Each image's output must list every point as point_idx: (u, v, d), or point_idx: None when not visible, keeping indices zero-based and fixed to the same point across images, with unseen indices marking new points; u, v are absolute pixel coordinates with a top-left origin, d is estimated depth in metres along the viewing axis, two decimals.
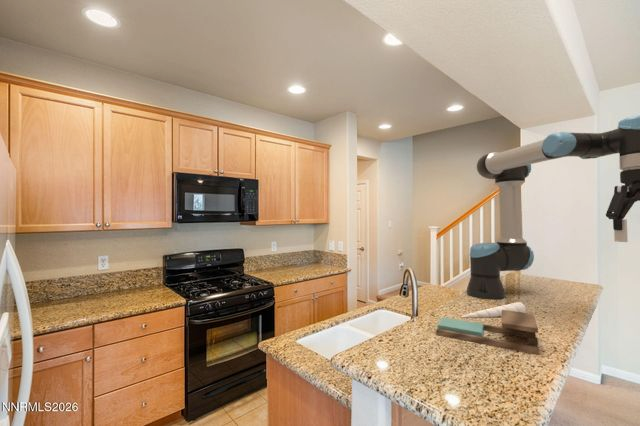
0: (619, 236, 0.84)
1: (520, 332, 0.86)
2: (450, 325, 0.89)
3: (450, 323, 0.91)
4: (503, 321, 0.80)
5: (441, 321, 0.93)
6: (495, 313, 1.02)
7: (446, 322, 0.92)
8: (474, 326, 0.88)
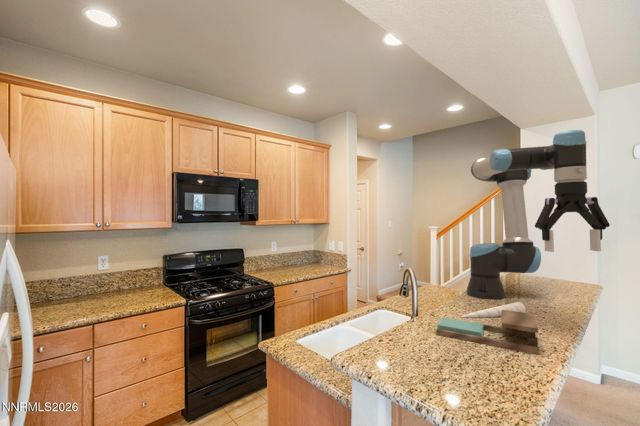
0: (547, 246, 0.88)
1: (520, 332, 0.86)
2: (450, 325, 0.89)
3: (450, 323, 0.91)
4: (503, 321, 0.80)
5: (441, 321, 0.93)
6: (495, 313, 1.02)
7: (446, 322, 0.92)
8: (474, 326, 0.88)
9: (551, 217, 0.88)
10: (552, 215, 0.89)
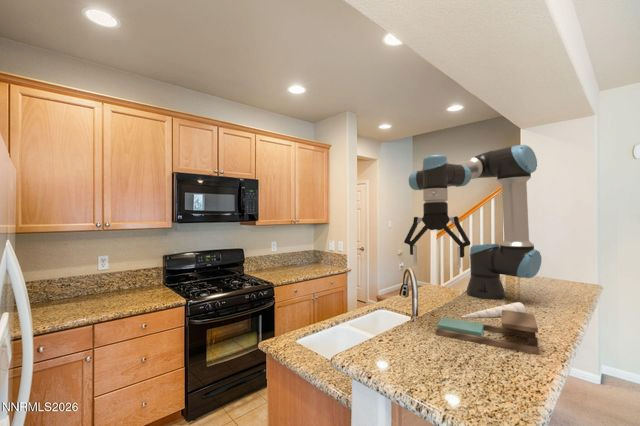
0: None
1: (520, 332, 0.86)
2: (449, 325, 0.89)
3: (450, 323, 0.91)
4: (503, 321, 0.80)
5: (441, 321, 0.93)
6: (495, 313, 1.02)
7: (446, 322, 0.92)
8: (474, 326, 0.88)
9: (417, 234, 0.98)
10: None
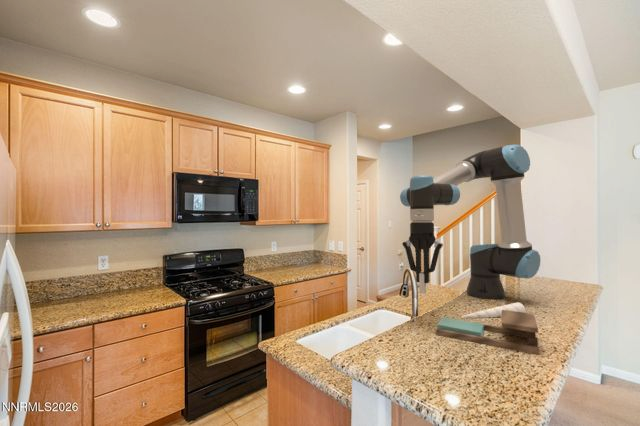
0: None
1: (520, 332, 0.86)
2: (449, 325, 0.89)
3: (450, 323, 0.91)
4: (503, 321, 0.80)
5: (441, 321, 0.93)
6: (495, 313, 1.02)
7: (446, 322, 0.92)
8: (474, 326, 0.88)
9: None
10: None
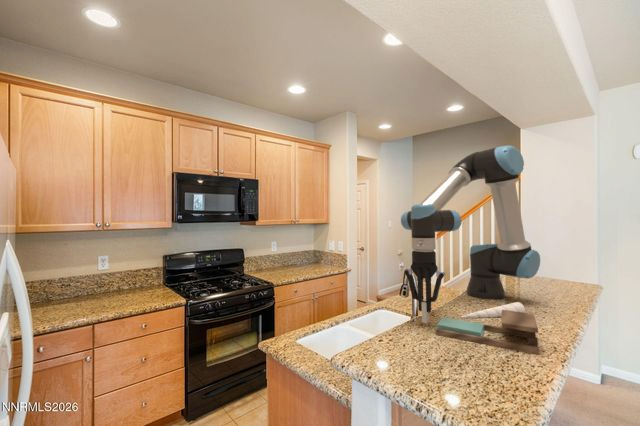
0: None
1: (520, 332, 0.86)
2: (449, 325, 0.89)
3: (450, 323, 0.91)
4: (503, 321, 0.80)
5: (441, 321, 0.93)
6: (494, 313, 1.02)
7: (446, 322, 0.92)
8: (474, 326, 0.88)
9: None
10: None
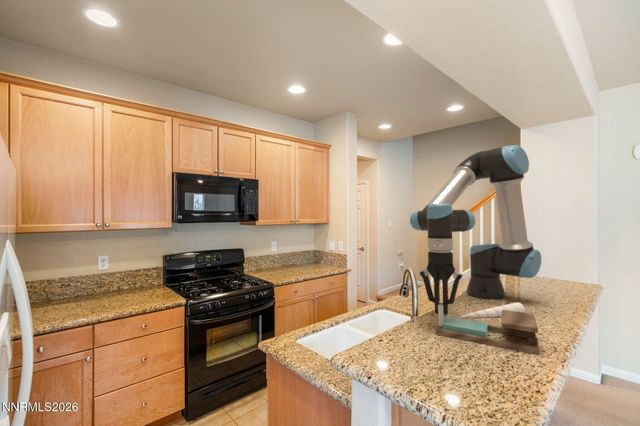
0: None
1: (520, 332, 0.86)
2: (454, 324, 0.89)
3: (455, 323, 0.90)
4: (503, 321, 0.80)
5: (445, 320, 0.92)
6: (494, 313, 1.02)
7: (450, 321, 0.92)
8: (479, 325, 0.88)
9: None
10: None
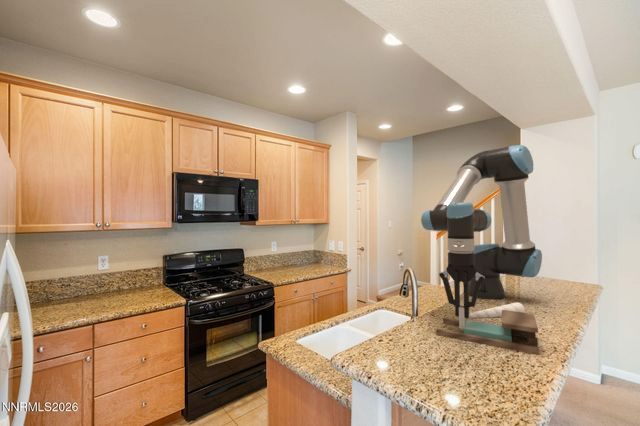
0: None
1: (520, 332, 0.86)
2: (476, 329, 0.86)
3: (477, 327, 0.87)
4: (503, 321, 0.80)
5: (466, 324, 0.89)
6: (494, 313, 1.02)
7: (472, 325, 0.89)
8: (502, 329, 0.85)
9: None
10: None
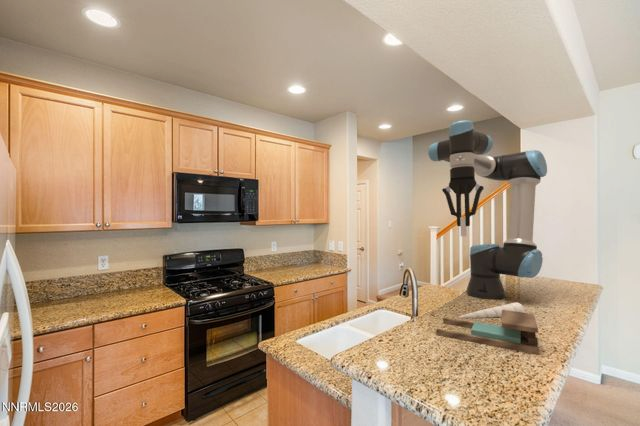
0: None
1: None
2: (484, 330, 0.85)
3: (485, 328, 0.86)
4: (503, 321, 0.80)
5: (474, 326, 0.88)
6: (493, 313, 1.02)
7: (480, 327, 0.88)
8: (511, 332, 0.83)
9: None
10: None
